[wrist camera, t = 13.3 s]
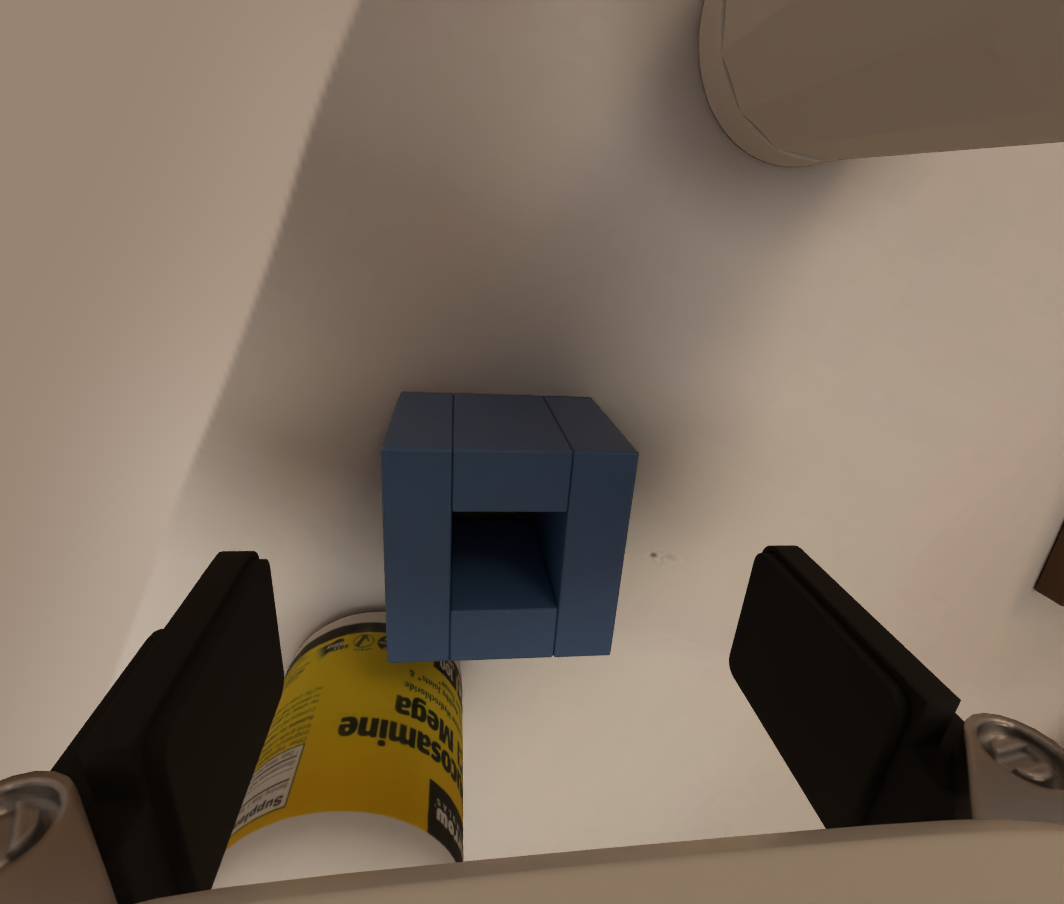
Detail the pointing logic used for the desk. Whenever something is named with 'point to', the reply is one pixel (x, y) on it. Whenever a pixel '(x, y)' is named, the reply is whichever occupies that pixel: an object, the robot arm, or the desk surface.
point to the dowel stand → (1054, 573)
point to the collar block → (503, 526)
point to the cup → (882, 75)
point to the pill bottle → (354, 765)
